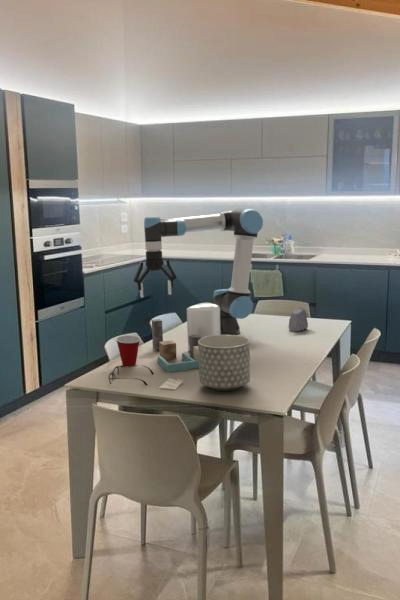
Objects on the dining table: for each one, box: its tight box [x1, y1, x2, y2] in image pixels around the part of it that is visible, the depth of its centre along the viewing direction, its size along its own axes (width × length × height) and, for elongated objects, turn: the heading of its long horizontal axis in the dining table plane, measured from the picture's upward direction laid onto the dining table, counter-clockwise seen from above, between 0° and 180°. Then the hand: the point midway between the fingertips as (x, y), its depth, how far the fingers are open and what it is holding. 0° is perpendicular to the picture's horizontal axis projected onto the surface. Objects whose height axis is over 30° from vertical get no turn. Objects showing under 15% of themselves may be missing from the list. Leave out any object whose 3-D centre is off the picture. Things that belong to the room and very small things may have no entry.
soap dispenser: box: [186, 302, 221, 351], centre depth 267 cm, size 15×14×22 cm
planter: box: [198, 334, 251, 392], centre depth 213 cm, size 19×19×18 cm
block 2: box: [189, 334, 201, 360], centre depth 250 cm, size 6×14×10 cm, turn 20°
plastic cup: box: [115, 335, 142, 367], centre depth 246 cm, size 11×11×12 cm
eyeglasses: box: [108, 365, 155, 386], centre depth 227 cm, size 16×16×4 cm
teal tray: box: [157, 352, 199, 373], centre depth 246 cm, size 24×15×3 cm, turn 110°
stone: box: [288, 308, 309, 332], centre depth 301 cm, size 12×10×10 cm
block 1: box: [151, 318, 177, 361], centre depth 262 cm, size 6×22×14 cm, turn 20°
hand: (156, 295), depth 267 cm, fingers open, 13 cm apart
